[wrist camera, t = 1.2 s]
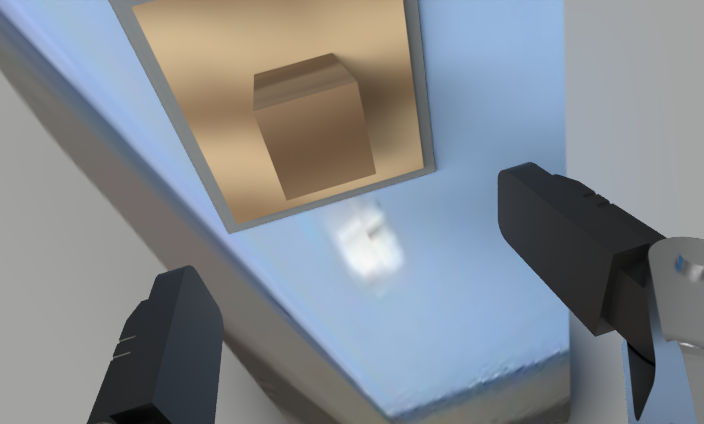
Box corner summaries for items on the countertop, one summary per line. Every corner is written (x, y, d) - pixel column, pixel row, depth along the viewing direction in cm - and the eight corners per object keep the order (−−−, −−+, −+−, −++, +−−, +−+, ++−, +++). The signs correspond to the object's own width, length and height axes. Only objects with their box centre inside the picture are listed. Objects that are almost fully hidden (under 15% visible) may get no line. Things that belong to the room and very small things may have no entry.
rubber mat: (104, -15, 17) (100, -14, 16) (404, -93, 18) (407, -95, 17) (229, 230, 25) (228, 234, 24) (432, 168, 25) (435, 171, 25)
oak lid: (135, 5, 17) (76, 22, 11) (389, -63, 18) (451, -78, 12) (237, 217, 24) (231, 293, 18) (419, 162, 24) (467, 219, 19)
